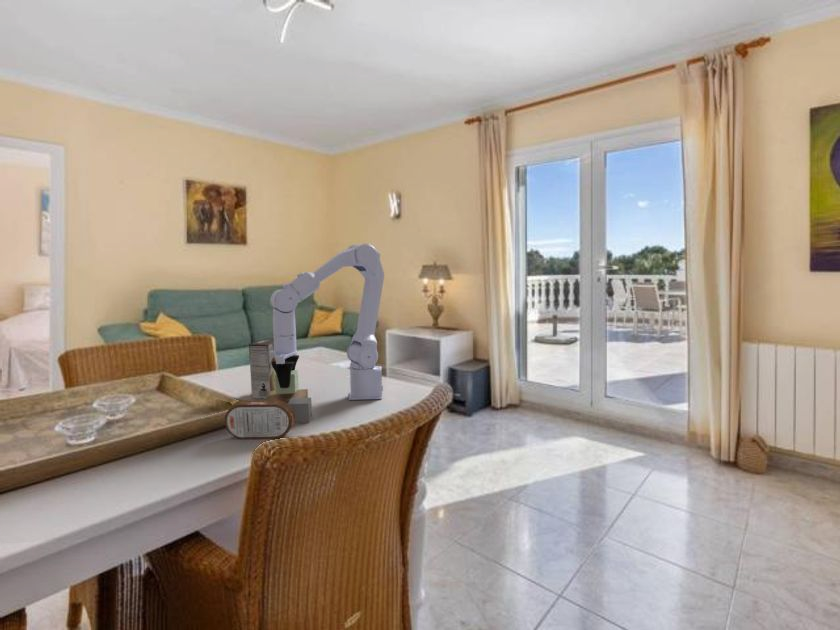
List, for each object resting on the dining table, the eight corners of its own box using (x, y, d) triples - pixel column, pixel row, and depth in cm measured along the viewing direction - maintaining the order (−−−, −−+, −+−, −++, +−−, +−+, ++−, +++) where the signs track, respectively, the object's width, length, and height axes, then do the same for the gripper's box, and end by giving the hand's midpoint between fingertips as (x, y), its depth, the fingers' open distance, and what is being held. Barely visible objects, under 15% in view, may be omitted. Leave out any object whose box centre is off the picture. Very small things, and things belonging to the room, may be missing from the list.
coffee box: (267, 389, 142) (265, 338, 140) (286, 390, 141) (284, 339, 139) (250, 398, 133) (248, 343, 131) (271, 399, 132) (268, 344, 130)
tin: (295, 434, 105) (294, 398, 104) (292, 439, 102) (291, 402, 101) (229, 435, 104) (227, 399, 103) (223, 441, 101) (221, 403, 100)
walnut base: (308, 402, 130) (307, 389, 129) (304, 414, 120) (304, 399, 119) (271, 404, 128) (270, 390, 128) (265, 416, 118) (264, 401, 118)
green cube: (298, 387, 126) (297, 370, 125) (295, 393, 121) (294, 374, 121) (279, 388, 126) (279, 370, 125) (275, 393, 121) (275, 374, 120)
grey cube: (311, 416, 117) (311, 397, 117) (309, 423, 112) (308, 403, 112) (291, 417, 117) (291, 398, 116) (288, 424, 112) (287, 404, 111)
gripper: (275, 331, 128) (277, 378, 130) (262, 339, 114) (264, 392, 116) (301, 330, 129) (302, 377, 131) (291, 338, 115) (293, 391, 116)
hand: (286, 384), depth 123 cm, fingers closed on green cube, 5 cm apart
